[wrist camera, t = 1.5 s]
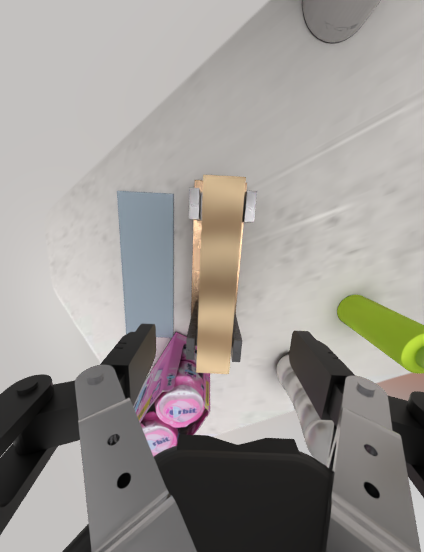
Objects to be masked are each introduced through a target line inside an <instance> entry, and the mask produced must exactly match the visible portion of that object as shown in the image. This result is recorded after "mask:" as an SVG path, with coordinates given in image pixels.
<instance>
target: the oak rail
mask: <svg viewBox="0 0 424 552" xmlns="http://www.w3.org/2000/svg"><path fill="white" fill-rule="evenodd" d="M245 181H246V177H234V176H216V175H203V200H202V227H201V255H200V282H199V310H198V338H197V365H196V373H217V374H229V368H230V356H231V345H232V333H233V321H234V310H235V298H236V286H237V275H238V263H239V251H240V239H241V228H242V216H243V204H244V193H245Z"/></svg>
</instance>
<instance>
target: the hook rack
mask: <svg viewBox="0 0 424 552" xmlns="http://www.w3.org/2000/svg"><path fill="white" fill-rule="evenodd" d="M246 188H247V183H245V193H244V204H243V216H242V228H241V239H240V251H239V263H238V275H237V286H236V298H235V310H234V321H233V333H232V345H231V357H232V362H240V358H241V348H242V338H241V334H240V330H239V326H238V322H237V318H236V302H237V291H238V279H239V268H240V257H241V245H242V234H243V223H248V222H254V218H255V208H256V198H257V191H246ZM202 200H203V180H195V188H189V219H192V220H194V226H193V264H192V302H191V321H190V325H189V329H188V334H187V338H186V360H194V356H195V349H196V346H197V338H198V310H199V282H200V255H201V227H202Z"/></svg>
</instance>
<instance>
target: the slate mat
mask: <svg viewBox="0 0 424 552" xmlns="http://www.w3.org/2000/svg"><path fill="white" fill-rule="evenodd" d="M117 198H118V214H119V229H120V245H121V260H122V276H123V291H124V306H125V322H126V334H128V333H129V332H135V331H136V330H137V328H138V327H139V326H140V324H142V323H143V324H155V326H156V337H167V338H172V337H173V284H174V194H166V193H147V192H128V191H117Z"/></svg>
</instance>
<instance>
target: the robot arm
mask: <svg viewBox="0 0 424 552" xmlns="http://www.w3.org/2000/svg"><path fill="white" fill-rule="evenodd" d="M380 1H381V0H303V12H304V17H305V20H306V23H307V25H308V27H309V29H310V30H311V32H312V33H313V34H314V35H315V36H316V37H317V38H319V39H321V40H323V41H326V42H331V43H332V42H340V41H343V40H346V39H347V38H349V37H351V36H352V35H353V34H355V33H356V32H357V31H358V30H359V29H360V27H361V26H362V25H363V23H364V22H365V21H366V20H367V18H368V17H369V16H370V14H371V13H372V12H373V10H374V9H375V8H376V6H377V5H378V4H379V2H380ZM155 354H156V326H155V324H143V323H142V324H140V326H139V327H138V328H137V330H136V331H135V332H129V333H128V334H126V335H125V336H123V337H122V338H121V340H120V341H119V342H118V344H117V345H116V346H115V347H114V349H112V351H111V352H110V353H109V354H108V356H107V357H106V358H105V359H104V360H103V362H102V363H101V364H100V365H97V366H93V367H91V368H89V369H86V370H85V371H83V372H82V373H81V374H80V375H79V376H78V377H77V378H76V380H75V381H71V382H65V383H60V384H55V385H53V383H52V379H51V377H50V376H48V375H34V376H31V377H27V378H25V379H22V380H20V381H18V382H16V383H14V384H13V385H11V386H10V387H9V388H7V389H6V390H5V391H4V392H3V393H1V394H0V457H1V455H2V454H3V453H4V452H5V451H6V450H7V449H8V447H9V446H10V445H11V444H12V443H13V444H12V445H11V446H10V447H9V449H8V450H7V451H6V452H5V453H4V454H3V456H2V457H1V458H0V535H1V533H2V532H3V530H4V529H5V527H6V526H7V524H8V522H9V521H10V519H11V518H12V516H13V515H14V513H15V512H16V510H17V509H18V507H19V505H20V504H21V502H22V501H23V499H24V498H25V496H26V495H27V493H28V492H29V490H30V488H31V487H32V485H33V484H34V482H35V481H36V479H37V477H38V476H39V474H40V473H41V471H42V470H43V468H44V467H45V465H46V463H47V462H48V460H49V459H50V457H51V456H52V454H53V453H54V451H55V450H56V448H57V447H58V446H59V445H63V444H67V443H70V442H73V441H78V440H80V444H81V454H82V463H83V473H84V483H85V492H86V502H87V512H88V521H89V524H88V525H87V526H86V527H85V528H84V529H83V530H82V531H81V532H80V533H79V534H78V535H77V537H76V538H75V539H74V540H73V541H72V542H71V543H70V544H69V545H68V546H67V547H66V548H65V549H64V550H63V552H421V549H420V544H419V538H418V532H417V526H416V520H415V515H414V509H413V503H412V497H411V491H410V486H409V480H408V477H409V478H410V480H411V481H412V482H413V484H414V485H415V487H416V488H417V489H418V491H419V492H420V493H421V495H422V496H423V497H424V392H412V393H411V395H410V398H409V400H408V401H406V400H402V399H398V398H395V397H390V396H388V395H387V394H386V392H385V391H384V390H383V389H382V388H381V387H380V386H379V385H377V384H376V383H374V382H372V381H370V380H368V379H366V378H363V377H360V376H355V375H354V374H353V373H352V372H351V371H350V370H349V369H348V367H347V366H346V365H345V364H344V363H343V362H342V361H341V360H340V359H338V357H337V356H336V355H335V354H333V352H332V351H331V350H330V349H329V348H328V347H327V346H326V345H325V344H323V343H321V342H320V341H317V340H316V339H315V338H314V337H313V336H312V335H311V334H310V333H309V332H308V331H294V332H293V334H292V339H291V346H290V352H289V362H290V365H291V367H292V369H293V371H294V373H295V374H296V376H297V378H298V380H299V381H300V383H301V385H302V387H303V389H304V390H305V392H306V394H307V396H308V398H309V399H310V401H311V403H312V405H313V406H314V408H315V410H316V412H317V414H318V415H319V417H320V419H321V420H332V421H333V423H334V427H333V431H332V437H331V443H330V448H329V454H328V460H327V466H326V465H324V464H323V463H321V462H320V461H318V460H317V459H315V458H313V457H311V456H309V455H307V454H304V453H302V452H300V451H299V450H298V448H297V445H296V443H295V440H294V439H279V438H277V439H276V438H264V439H260V440H256V441H253V442H248V443H245V444H241V445H236V444H232V443H229V442H226V441H223V440H220V439H217V438H214V437H210V436H205V435H181V434H179V438H178V445H177V446H174V447H171V448H168V449H166V450H164V451H162V452H160V453H158V454H157V455H155V456H154V457H153V454H152V452H151V449H150V447H149V444H148V442H147V439H146V437H145V434H144V432H143V429H142V427H141V424H140V422H139V419H138V417H137V415H136V412H135V410H134V407H133V406H134V404H135V402H136V400H137V397H138V395H139V393H140V391H141V388H142V386H143V384H144V381H145V379H146V377H147V375H148V372H149V370H150V368H151V366H152V363H153V361H154V358H155Z"/></svg>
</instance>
